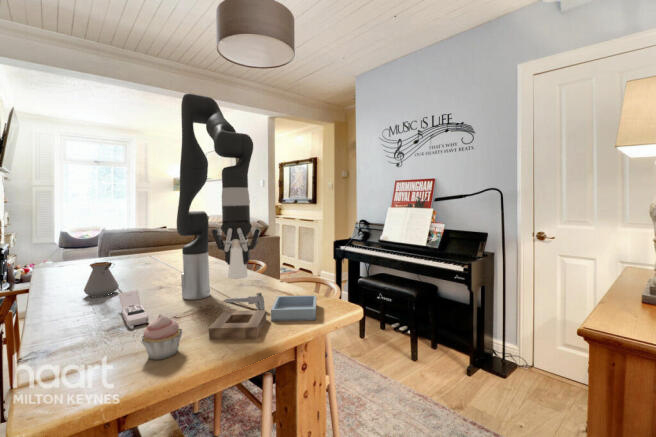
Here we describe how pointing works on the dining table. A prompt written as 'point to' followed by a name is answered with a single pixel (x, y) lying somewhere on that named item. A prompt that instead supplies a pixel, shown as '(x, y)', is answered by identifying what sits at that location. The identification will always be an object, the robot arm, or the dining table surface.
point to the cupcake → (161, 337)
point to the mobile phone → (132, 309)
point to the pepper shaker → (237, 261)
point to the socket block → (238, 324)
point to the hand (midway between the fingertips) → (237, 263)
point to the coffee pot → (101, 280)
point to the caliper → (250, 300)
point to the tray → (294, 308)
